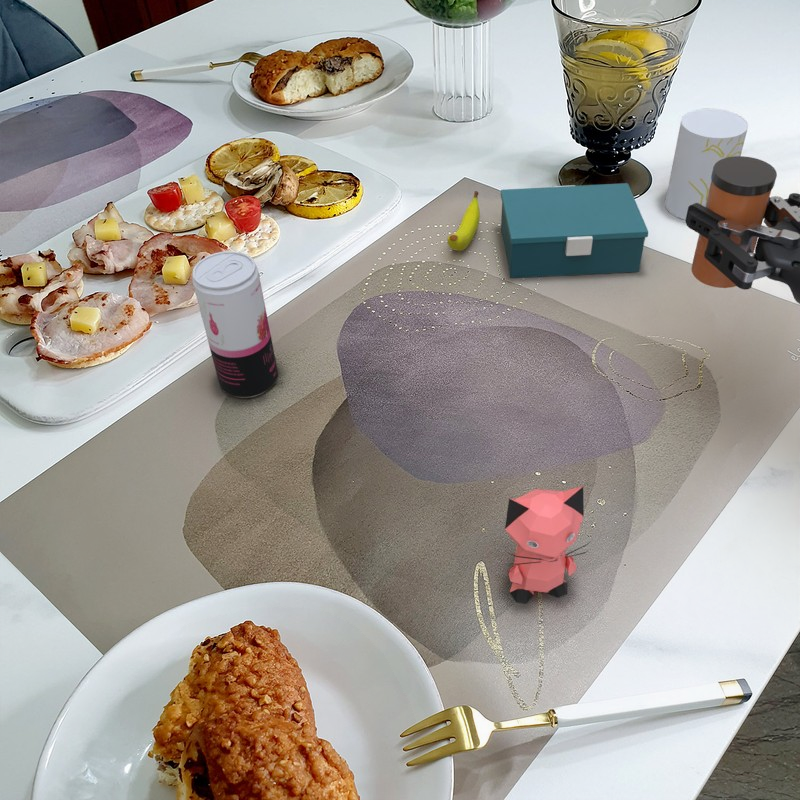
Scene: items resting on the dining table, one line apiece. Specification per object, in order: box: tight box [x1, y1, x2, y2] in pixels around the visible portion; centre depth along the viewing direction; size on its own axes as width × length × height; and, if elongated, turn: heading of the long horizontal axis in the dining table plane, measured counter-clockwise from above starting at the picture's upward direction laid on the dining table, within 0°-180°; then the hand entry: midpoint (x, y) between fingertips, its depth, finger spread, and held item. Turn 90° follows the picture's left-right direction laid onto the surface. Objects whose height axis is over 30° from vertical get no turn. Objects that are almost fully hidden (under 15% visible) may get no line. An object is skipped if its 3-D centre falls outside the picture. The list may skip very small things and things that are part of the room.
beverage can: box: [192, 250, 279, 399], centre depth 90 cm, size 6×7×15 cm
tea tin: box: [690, 155, 778, 289], centre depth 80 cm, size 5×5×11 cm
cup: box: [664, 108, 749, 221], centre depth 113 cm, size 8×8×12 cm
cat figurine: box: [504, 486, 593, 604], centre depth 71 cm, size 7×7×12 cm
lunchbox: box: [500, 182, 649, 279], centre depth 109 cm, size 16×12×6 cm
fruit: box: [446, 190, 481, 252], centre depth 111 cm, size 10×2×5 cm, turn 159°
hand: (712, 203), depth 81 cm, fingers closed on tea tin, 5 cm apart
